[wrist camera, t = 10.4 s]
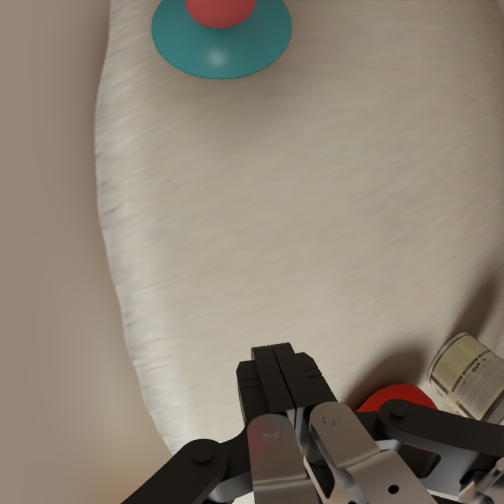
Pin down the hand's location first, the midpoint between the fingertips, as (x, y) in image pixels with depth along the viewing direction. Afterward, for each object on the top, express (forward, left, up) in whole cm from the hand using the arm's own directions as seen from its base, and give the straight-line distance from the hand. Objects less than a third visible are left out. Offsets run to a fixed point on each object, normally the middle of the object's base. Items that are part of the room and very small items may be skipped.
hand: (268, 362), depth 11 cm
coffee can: (+20, +32, -14) cm, 40 cm away
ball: (-22, 0, -11) cm, 24 cm away
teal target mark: (-21, 0, -14) cm, 25 cm away
